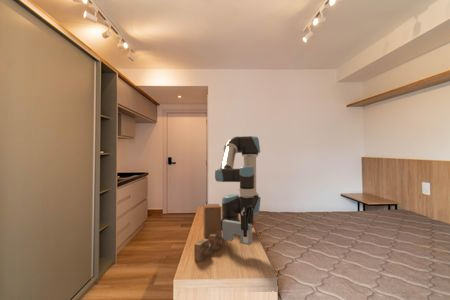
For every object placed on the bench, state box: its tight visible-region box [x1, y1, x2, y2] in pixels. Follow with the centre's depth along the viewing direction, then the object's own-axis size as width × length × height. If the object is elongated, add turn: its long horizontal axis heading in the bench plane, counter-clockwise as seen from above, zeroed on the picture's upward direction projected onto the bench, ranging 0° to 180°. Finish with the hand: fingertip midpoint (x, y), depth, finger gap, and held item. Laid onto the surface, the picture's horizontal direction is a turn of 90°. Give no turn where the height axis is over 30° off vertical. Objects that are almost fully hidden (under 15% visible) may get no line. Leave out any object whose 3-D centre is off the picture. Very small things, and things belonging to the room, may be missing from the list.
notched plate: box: [221, 220, 253, 246], centre depth 122 cm, size 3×16×10 cm, turn 61°
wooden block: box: [203, 203, 222, 239], centre depth 144 cm, size 10×10×20 cm
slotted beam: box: [193, 230, 223, 262], centre depth 122 cm, size 22×3×8 cm, turn 151°
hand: (247, 241), depth 119 cm, fingers closed on notched plate, 3 cm apart
